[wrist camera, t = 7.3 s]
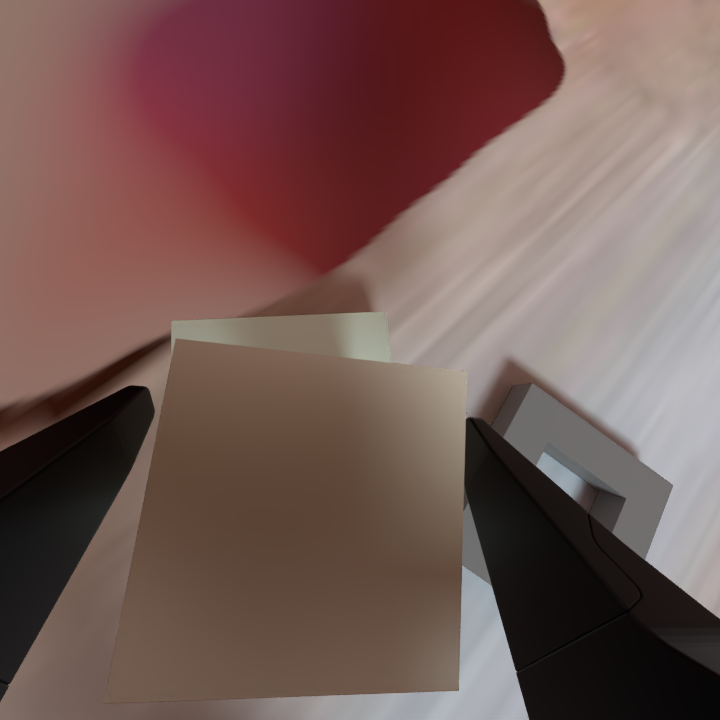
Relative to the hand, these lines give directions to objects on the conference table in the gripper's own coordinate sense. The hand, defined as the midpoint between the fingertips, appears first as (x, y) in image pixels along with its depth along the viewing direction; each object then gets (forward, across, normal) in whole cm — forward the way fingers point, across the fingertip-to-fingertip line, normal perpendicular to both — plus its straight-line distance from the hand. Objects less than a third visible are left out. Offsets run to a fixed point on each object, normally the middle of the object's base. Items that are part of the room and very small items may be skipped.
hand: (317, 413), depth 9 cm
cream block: (+5, 0, +7) cm, 9 cm away
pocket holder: (+5, -16, +12) cm, 21 cm away
